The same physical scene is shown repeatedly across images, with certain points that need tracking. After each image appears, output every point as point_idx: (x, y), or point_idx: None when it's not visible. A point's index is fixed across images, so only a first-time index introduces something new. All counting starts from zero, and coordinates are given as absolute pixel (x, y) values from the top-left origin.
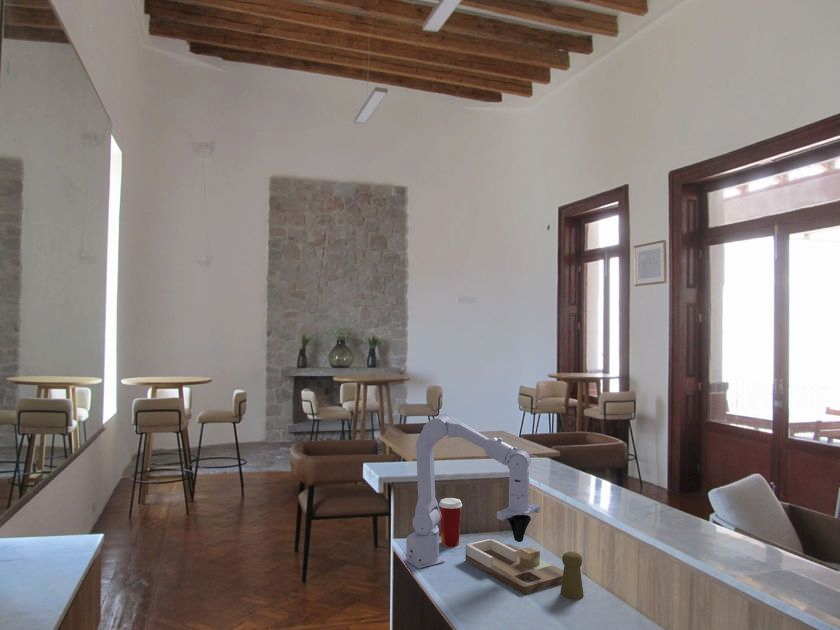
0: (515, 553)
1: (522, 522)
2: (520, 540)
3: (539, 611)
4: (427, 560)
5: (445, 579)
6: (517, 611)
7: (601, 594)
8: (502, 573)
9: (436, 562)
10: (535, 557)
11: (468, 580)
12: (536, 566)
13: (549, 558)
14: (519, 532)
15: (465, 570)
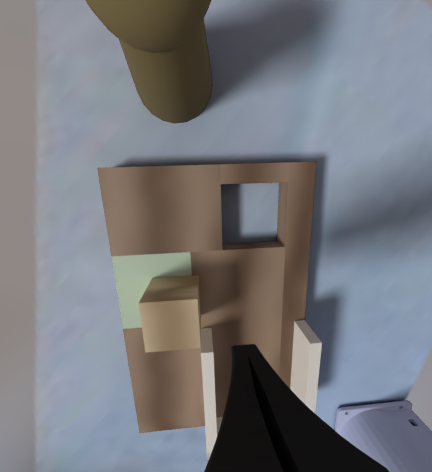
0: (208, 346)
1: (321, 470)
2: (250, 348)
3: (346, 44)
4: (390, 419)
5: (399, 332)
6: (396, 84)
7: (73, 20)
8: (300, 276)
9: (363, 409)
10: (167, 290)
11: (361, 306)
12: (170, 271)
13: (66, 330)
14: (284, 385)
15: (326, 355)
